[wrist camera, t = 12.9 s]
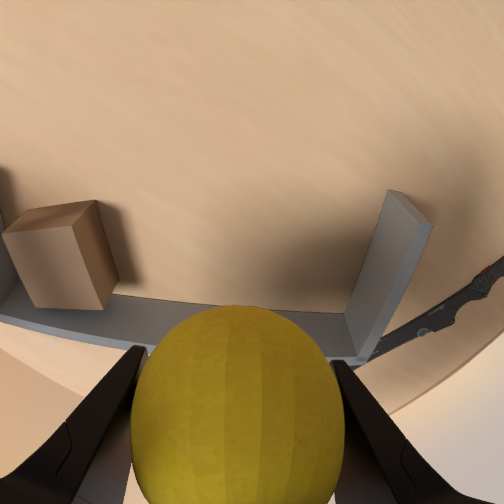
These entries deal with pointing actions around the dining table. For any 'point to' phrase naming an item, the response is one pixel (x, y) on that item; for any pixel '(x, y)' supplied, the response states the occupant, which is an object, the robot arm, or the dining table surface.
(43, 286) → the brown wooden block
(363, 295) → the frame
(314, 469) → the lemon
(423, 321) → the knife
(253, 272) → the dining table surface
